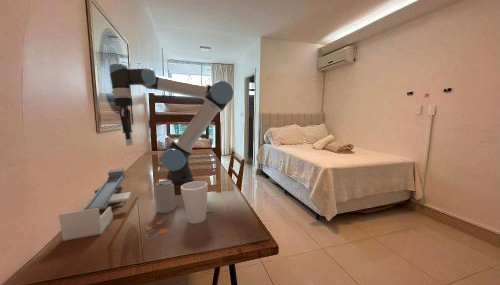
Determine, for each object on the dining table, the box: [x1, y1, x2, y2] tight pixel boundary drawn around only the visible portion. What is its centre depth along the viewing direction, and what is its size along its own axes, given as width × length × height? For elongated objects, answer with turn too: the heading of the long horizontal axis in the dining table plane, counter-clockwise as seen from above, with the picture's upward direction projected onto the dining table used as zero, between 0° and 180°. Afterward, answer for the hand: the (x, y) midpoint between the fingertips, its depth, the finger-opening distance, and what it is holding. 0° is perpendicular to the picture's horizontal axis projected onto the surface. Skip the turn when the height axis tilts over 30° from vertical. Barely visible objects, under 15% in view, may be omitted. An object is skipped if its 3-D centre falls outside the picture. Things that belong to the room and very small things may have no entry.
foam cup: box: [180, 180, 209, 224], centre depth 75 cm, size 10×9×13 cm
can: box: [153, 179, 177, 215], centre depth 84 cm, size 8×8×12 cm
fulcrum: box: [94, 185, 127, 211], centre depth 92 cm, size 8×11×8 cm
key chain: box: [145, 217, 167, 240], centre depth 71 cm, size 13×7×1 cm, turn 22°
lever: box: [86, 168, 132, 210], centre depth 92 cm, size 28×13×4 cm, turn 17°
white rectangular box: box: [58, 207, 114, 242], centre depth 72 cm, size 12×11×9 cm
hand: (129, 145), depth 104 cm, fingers closed
